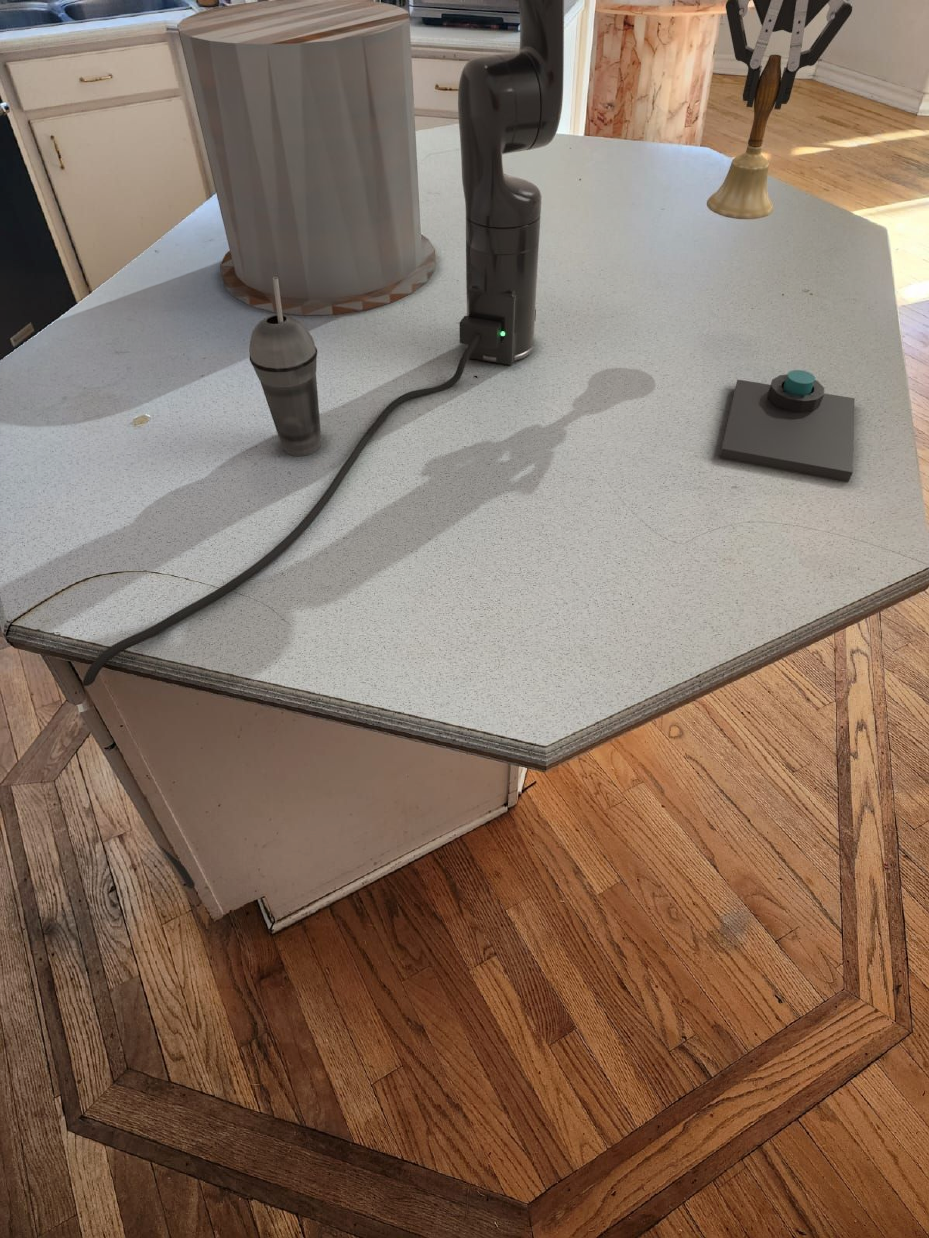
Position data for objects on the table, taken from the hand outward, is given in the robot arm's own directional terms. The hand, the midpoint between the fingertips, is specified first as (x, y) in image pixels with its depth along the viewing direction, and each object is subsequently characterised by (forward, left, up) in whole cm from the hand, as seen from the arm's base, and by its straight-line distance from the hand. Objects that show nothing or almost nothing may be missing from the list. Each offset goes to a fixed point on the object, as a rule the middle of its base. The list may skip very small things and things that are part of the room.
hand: (763, 106), depth 89 cm
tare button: (-19, -12, -24) cm, 33 cm away
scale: (-24, -12, -27) cm, 38 cm away
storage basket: (+2, +62, -27) cm, 68 cm away
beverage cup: (-45, +42, -27) cm, 67 cm away
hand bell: (0, 0, -11) cm, 11 cm away
